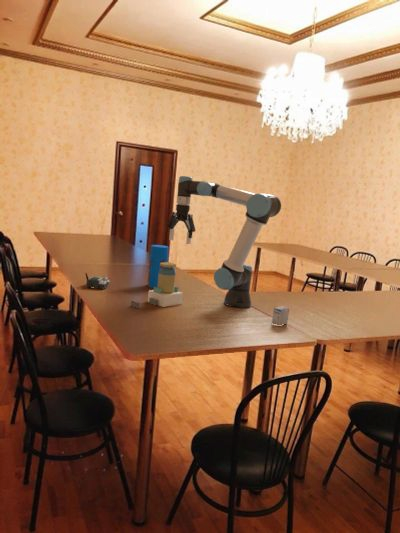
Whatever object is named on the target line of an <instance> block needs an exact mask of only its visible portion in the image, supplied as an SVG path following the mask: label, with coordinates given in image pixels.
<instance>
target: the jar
mask: <svg viewBox="0 0 400 533" xmlns="http://www.w3.org/2000/svg"><path fill="white" fill-rule="evenodd" d="M160 266H162V267H161V268H160V269H159V276H158V287H157V288H160V289H162V293H172V292H173V291H174V287H175V286H176V283H175V282H176V274H177V269H176V267H177V264H176V263H173V262H164V263H160Z"/></svg>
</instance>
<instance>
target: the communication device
mask: <svg viewBox="0 0 400 533" xmlns="http://www.w3.org/2000/svg"><path fill="white" fill-rule="evenodd" d="M85 278H86V288H87V287H94V288H93V289H95V288H98V289H99V288H102V289H101V290H105V289H106V288H105V287H107V288H108V286H109V284H110V282H111V281H110V279H109V277H106V276H92V277H89V276H88V274H87V272H85ZM104 288H105V289H104Z"/></svg>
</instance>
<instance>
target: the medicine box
mask: <svg viewBox="0 0 400 533" xmlns="http://www.w3.org/2000/svg"><path fill="white" fill-rule="evenodd" d="M289 313H290V308H289V307H287V306H283V305H281V306H278V307H274V308H273V312H272V318H271V319H272V320H271V324H272V323H273V324H277V325H282V324H287V325H288V320H289Z"/></svg>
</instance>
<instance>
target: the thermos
mask: <svg viewBox="0 0 400 533" xmlns="http://www.w3.org/2000/svg"><path fill="white" fill-rule="evenodd" d="M168 258H169V246H167V245H160V244H152V245H151V247H150V255H149V266H148V278H147V286H148V288H153V289H154V287H158V276H159V269H160V268H161V267H162V266H160V263H164V262H167V263H169V262H168V261H169V260H168Z"/></svg>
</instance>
